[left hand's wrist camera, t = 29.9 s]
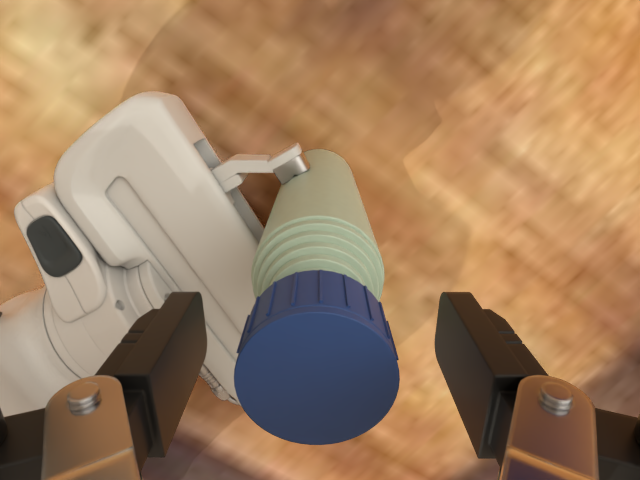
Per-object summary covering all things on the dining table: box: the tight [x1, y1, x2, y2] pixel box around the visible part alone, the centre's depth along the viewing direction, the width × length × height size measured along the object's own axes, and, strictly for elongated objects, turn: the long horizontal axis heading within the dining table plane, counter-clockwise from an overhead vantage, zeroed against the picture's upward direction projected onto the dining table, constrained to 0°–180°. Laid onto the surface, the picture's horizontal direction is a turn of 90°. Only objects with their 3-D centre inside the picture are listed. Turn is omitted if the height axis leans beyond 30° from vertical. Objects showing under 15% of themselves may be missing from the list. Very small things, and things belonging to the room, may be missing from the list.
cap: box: [234, 270, 400, 445], centre depth 11 cm, size 4×4×2 cm
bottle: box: [251, 149, 384, 302], centre depth 20 cm, size 5×5×20 cm
